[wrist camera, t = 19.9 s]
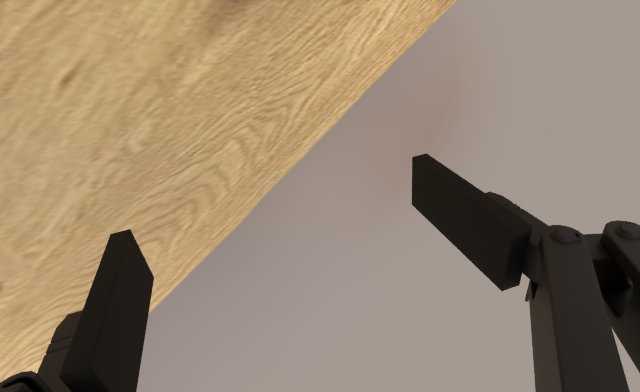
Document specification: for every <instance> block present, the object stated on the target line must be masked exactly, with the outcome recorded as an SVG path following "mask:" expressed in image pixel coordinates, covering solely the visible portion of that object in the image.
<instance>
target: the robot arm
mask: <svg viewBox="0 0 640 392" xmlns="http://www.w3.org/2000/svg"><path fill="white" fill-rule="evenodd" d="M412 162H413V163H412V205H413V206H414V207H415V208H416V209H417V210H418V211H419V212H420V213H421V214H422V215H423V216H425V218H427V219H428V220H429V221H430V222H431V223H432V224H433V225H434V226H435V227H436V228H437V229H438V230H439V231H440V232H441V233H442V234H443V235H444V236H445V237H446V238H447V239H448V240H449V241H450V242H452V244H453V245H455V246H456V247H457V248H458V249H459V250H460V251H461V252H462V253H463V254H464V255H465V256H466V257H467V258H468V259H469V260H470V261H471V262H472V263H473V264H474V265H475V266H476V267H477V268H478V269H479V270H480V271H482V272H483V273H484V274H485V275H486V276H487V277H488V278H489V279H490V280H491V281H492V282H493V283H494V284H495V285H496V286H497V287H498V288H499V289H500V290H501V291H504V290H506V289H509V288H512V287H515V286H518V285H519V284H520V279H521V275H522V273H523V274H525V275H526V276H527V277H528V278H529V279H530V282H529V286H528V290H527V294H526V298H525V301H528V300H529V303H530V317H531V330H532V345H533V360H534V374H535V388H536V392H629V388H628V385H627V381H626V378H625V374H624V371H623V367H622V364H621V360H620V356H619V353H618V349H617V346H616V343H615V339H614V336H613V332H612V329H613V330H614V332H615V333H616V335H617V337H618V338H619V340H620V341H621V343H622V345H623V346H624V348H625V350H626V351H627V353H628V354H629V356H630V357H631V359H632V361H633V362H634V364H635V366H636V367H637V369H638V371H639V372H640V225H638V224H635V223H631V222H627V221H611V222H609V223H607V224H606V225H605V228H604V231H603V233H602V234H586V235H583V234H581V233H580V232H579V231H577V230H575V229H573V228H570V227H567V226H561V225H552V226H548V225H546V224H545V223H543V222H542V221H540V220H539V219H537V218H536V217H534V216H533V215H531V214H530V213H528V212H527V211H525V210H523V209H521V208H520V207H519V206H517V205H516V204H513V203H512V202H511V201H510V200H508V199H506V198H505V197H503V196H501V195H498V194H495V193H492V192H488V193H484V192H482V191H481V190H479V189H478V188H476V187H475V186H473V185H472V184H470V183H469V182H468V181H466V180H465V179H463V178H462V177H460V176H459V175H457V174H456V173H454V172H453V171H451V170H450V169H448V168H447V167H445V166H444V165H442V164H441V163H439V162H438V161H436V160H435V159H434V158H432V157H431V156H429V155H428V154H423V155H419V156H415V157H413V159H412ZM153 280H154V277H153V275H152V273H151V270H150V268H149V266H148V264H147V262H146V260H145V258H144V256H143V254H142V252H141V250H140V248H139V246H138V244H137V242H136V240H135V238H134V236H133V234H132V232H131V230H130V229H129V230H125V231H121V232H117V233H113V234H111V235H110V237H109V240H108V243H107V246H106V248H105V251H104V254H103V257H102V259H101V262H100V265H99V268H98V270H97V273H96V276H95V278H94V281H93V284H92V287H91V289H90V292H89V295H88V298H87V300H86V303H85V306H84V308H83V310H82V311H79V312H75V313H72V314H68V315H67V316H66V317H65V319H64V320H63V321H62V322H61V323H60V325H59V326H58V327H57V328H56V330H55V333H54V335H53V337H52V340H51V344H49V347H48V349H47V351H46V355H45V356H44V358H43V361H42V363H41V365H40V368H39V370H38V373H37V374H36V373H34V372H32V371H29V372H21V373H19V374H16V375H13V376H11V377H9V378H8V379H6V380H4V381H3V382H1V383H0V392H136V389H137V383H138V377H139V369H140V364H141V356H142V351H143V344H144V338H145V331H146V325H147V319H148V312H149V306H150V299H151V293H152V287H153ZM611 327H612V328H611Z"/></svg>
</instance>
